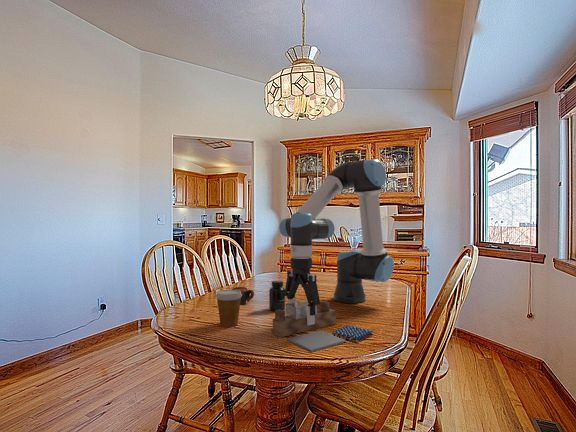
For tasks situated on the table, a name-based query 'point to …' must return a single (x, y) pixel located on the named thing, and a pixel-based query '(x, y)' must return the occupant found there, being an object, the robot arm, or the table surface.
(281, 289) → the supplement bottle
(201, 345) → the table surface
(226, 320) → the disposable coffee cup
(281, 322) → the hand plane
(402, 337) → the table surface
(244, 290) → the pottery mug
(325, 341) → the pad
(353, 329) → the woven mat
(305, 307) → the light grey block
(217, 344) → the table surface
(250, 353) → the table surface
